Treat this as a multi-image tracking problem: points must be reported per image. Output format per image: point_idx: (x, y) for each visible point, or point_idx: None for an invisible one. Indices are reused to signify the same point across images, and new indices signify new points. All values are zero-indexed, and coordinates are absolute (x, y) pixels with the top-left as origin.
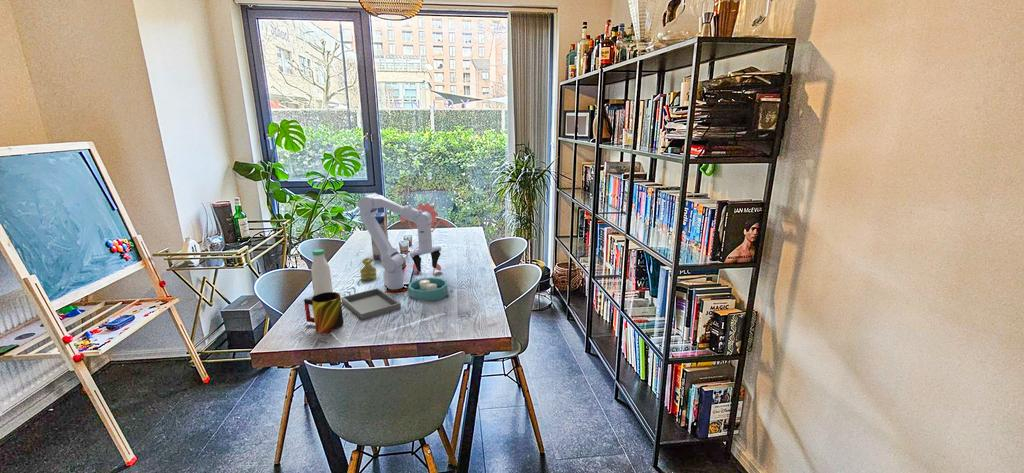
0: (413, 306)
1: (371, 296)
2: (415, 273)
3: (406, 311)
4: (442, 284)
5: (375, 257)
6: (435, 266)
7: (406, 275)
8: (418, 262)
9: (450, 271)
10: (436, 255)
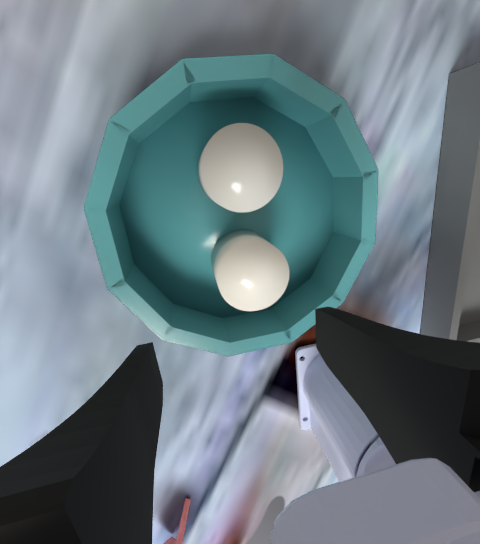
0: (380, 80)
1: (466, 310)
2: (189, 503)
3: (440, 31)
4: (123, 242)
5: None
6: (142, 350)
7: (231, 496)
8: (434, 342)
9: None
10: (82, 462)
